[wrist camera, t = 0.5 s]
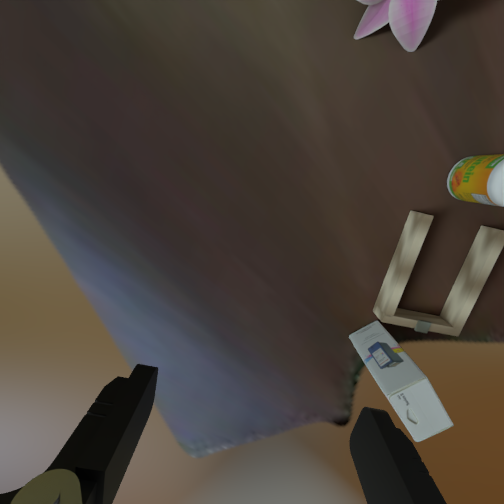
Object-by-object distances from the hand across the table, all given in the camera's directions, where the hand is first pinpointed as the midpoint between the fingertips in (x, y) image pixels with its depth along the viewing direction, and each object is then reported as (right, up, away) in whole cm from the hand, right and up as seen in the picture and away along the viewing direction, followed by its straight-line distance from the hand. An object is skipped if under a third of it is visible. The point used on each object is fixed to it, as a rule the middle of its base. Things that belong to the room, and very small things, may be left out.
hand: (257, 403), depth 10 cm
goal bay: (+24, +3, +27) cm, 37 cm away
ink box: (+19, -9, +31) cm, 37 cm away
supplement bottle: (+27, +15, +24) cm, 39 cm away
